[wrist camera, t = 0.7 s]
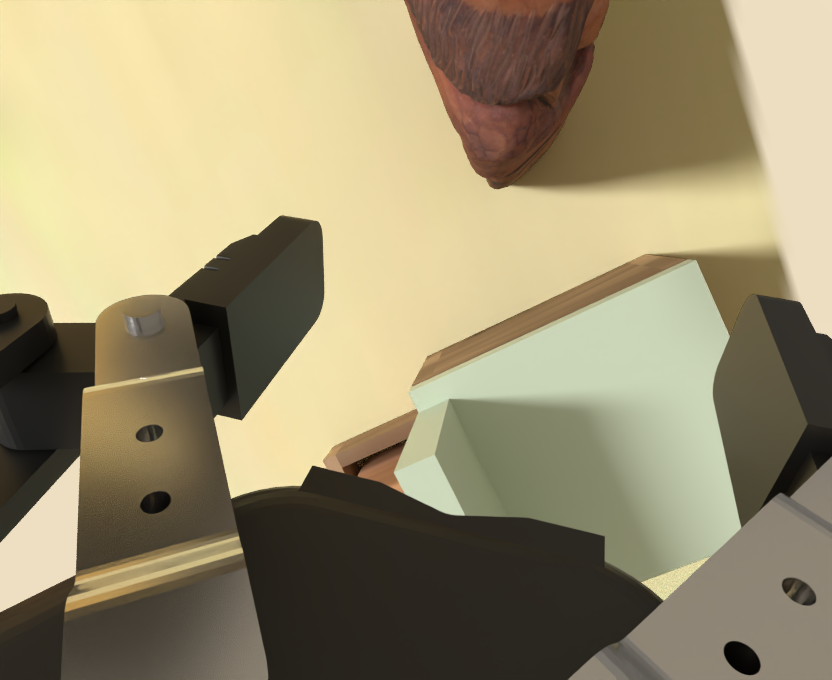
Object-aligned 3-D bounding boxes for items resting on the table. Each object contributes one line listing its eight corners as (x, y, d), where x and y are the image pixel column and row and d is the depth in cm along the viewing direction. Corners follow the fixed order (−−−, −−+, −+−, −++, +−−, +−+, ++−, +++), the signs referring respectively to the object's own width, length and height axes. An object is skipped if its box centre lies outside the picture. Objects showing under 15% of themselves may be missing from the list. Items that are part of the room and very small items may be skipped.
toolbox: (314, 409, 36) (273, 449, 30) (645, 254, 33) (686, 258, 26) (404, 582, 38) (385, 659, 31) (734, 451, 34) (796, 505, 27)
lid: (411, 387, 28) (380, 445, 20) (688, 259, 26) (775, 269, 18) (524, 611, 29) (536, 749, 21) (799, 508, 27) (926, 621, 19)
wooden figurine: (593, 158, 32) (713, 64, 15) (478, 203, 33) (461, 166, 16) (518, -68, 31) (551, -470, 13) (400, -14, 32) (288, -318, 14)
